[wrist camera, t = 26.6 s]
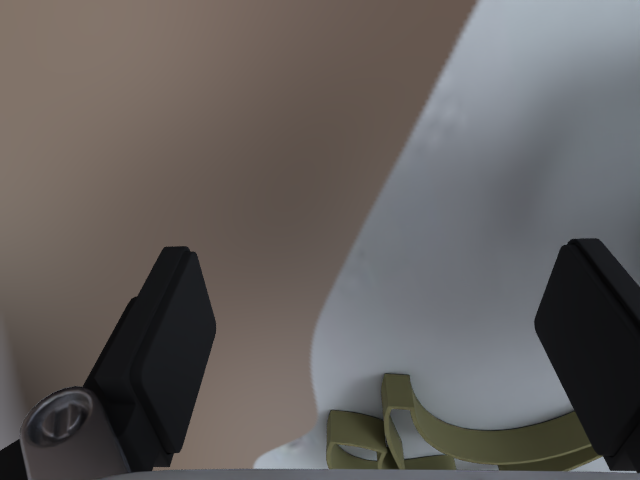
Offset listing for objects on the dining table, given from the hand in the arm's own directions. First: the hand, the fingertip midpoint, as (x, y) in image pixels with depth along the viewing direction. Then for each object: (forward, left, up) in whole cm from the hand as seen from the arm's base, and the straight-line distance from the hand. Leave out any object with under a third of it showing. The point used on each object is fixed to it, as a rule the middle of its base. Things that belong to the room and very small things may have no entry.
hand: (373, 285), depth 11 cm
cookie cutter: (-14, -16, -7) cm, 22 cm away
